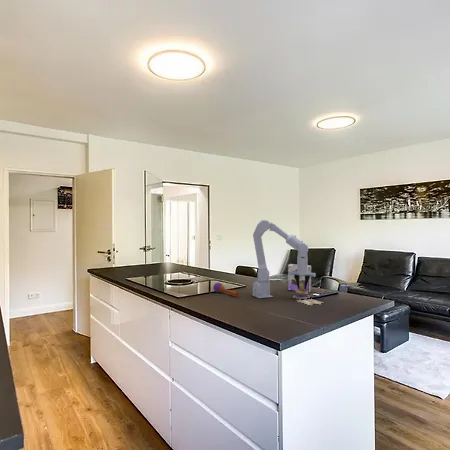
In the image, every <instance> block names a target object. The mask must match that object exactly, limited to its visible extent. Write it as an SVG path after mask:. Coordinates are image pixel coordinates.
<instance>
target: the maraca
mask: <svg viewBox="0 0 450 450" xmlns="http://www.w3.org/2000/svg"><path fill="white" fill-rule="evenodd" d="M213 290H214V291H213V292H215V293H223V292H226V293H228V294H229V295H230V296H232V297H234V298H238V297H239V296H240V293H239V292H238V291H236V290H231V289H227V288H226V287H225V286H224V285H223V283H221V282H216V283H214V285H213Z"/></svg>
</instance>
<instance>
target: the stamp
mask: <svg viewBox="0 0 450 450" xmlns="http://www.w3.org/2000/svg"><path fill="white" fill-rule="evenodd" d="M295 295H308V296H309V293H308V291H306V290H305V282H304V281H299V290H296V291H295Z"/></svg>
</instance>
